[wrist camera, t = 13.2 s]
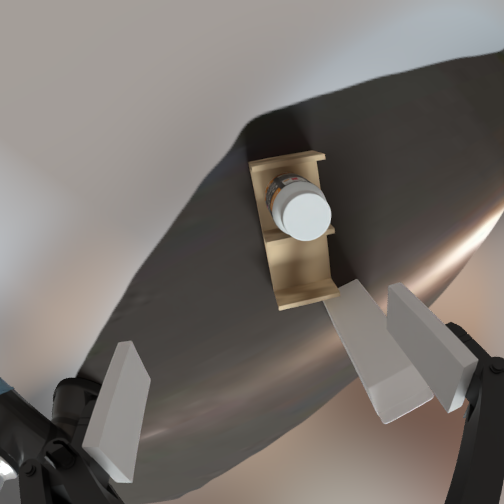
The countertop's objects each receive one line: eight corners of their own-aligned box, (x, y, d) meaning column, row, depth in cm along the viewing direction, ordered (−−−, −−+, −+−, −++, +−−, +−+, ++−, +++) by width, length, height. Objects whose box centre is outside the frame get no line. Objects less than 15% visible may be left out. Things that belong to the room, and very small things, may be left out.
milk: (367, 307, 47) (436, 410, 26) (332, 325, 47) (387, 437, 27) (356, 277, 44) (435, 380, 24) (319, 295, 45) (379, 412, 25)
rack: (273, 290, 44) (279, 310, 39) (248, 162, 37) (251, 167, 32) (328, 277, 44) (340, 296, 39) (312, 150, 37) (324, 153, 32)
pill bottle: (258, 177, 37) (270, 194, 28) (305, 166, 37) (331, 180, 28) (269, 222, 39) (283, 252, 30) (313, 211, 39) (340, 238, 30)
